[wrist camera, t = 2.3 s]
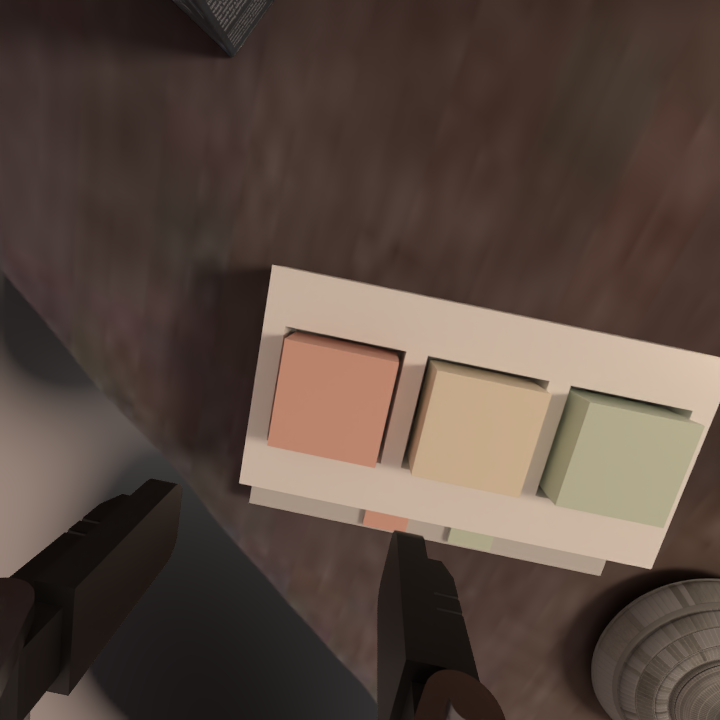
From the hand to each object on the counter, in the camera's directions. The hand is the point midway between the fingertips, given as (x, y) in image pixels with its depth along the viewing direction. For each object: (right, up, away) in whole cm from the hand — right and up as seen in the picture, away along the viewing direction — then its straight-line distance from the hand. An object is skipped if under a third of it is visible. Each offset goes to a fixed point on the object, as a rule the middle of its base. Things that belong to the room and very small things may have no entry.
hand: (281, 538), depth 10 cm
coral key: (+1, +3, +14) cm, 14 cm away
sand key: (+8, +1, +14) cm, 16 cm away
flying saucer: (+27, -18, +21) cm, 39 cm away
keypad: (+8, 0, +17) cm, 19 cm away
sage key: (+16, 0, +14) cm, 21 cm away
